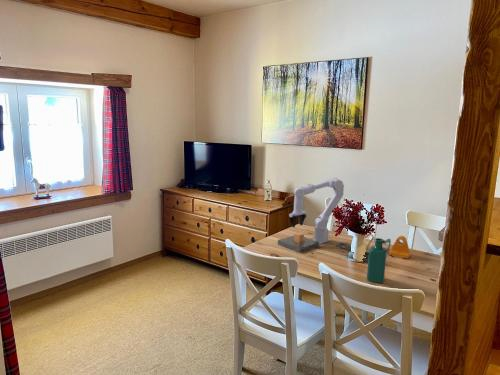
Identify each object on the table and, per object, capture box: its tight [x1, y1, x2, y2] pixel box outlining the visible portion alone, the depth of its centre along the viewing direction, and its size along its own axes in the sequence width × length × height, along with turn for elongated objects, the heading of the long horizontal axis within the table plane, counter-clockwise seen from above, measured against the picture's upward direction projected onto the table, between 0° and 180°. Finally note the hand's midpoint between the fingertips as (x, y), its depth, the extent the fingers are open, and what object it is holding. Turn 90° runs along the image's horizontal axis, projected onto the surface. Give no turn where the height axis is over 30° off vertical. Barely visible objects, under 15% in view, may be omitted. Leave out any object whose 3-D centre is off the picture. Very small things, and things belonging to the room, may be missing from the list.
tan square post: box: [293, 232, 305, 243], centre depth 245 cm, size 4×4×8 cm
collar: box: [277, 235, 320, 253], centre depth 245 cm, size 19×19×3 cm
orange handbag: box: [388, 235, 411, 259], centre depth 231 cm, size 11×7×12 cm, turn 58°
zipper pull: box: [336, 242, 369, 265], centre depth 226 cm, size 9×7×25 cm
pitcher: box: [366, 237, 392, 284], centre depth 195 cm, size 10×8×22 cm
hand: (297, 225), depth 253 cm, fingers open, 7 cm apart
